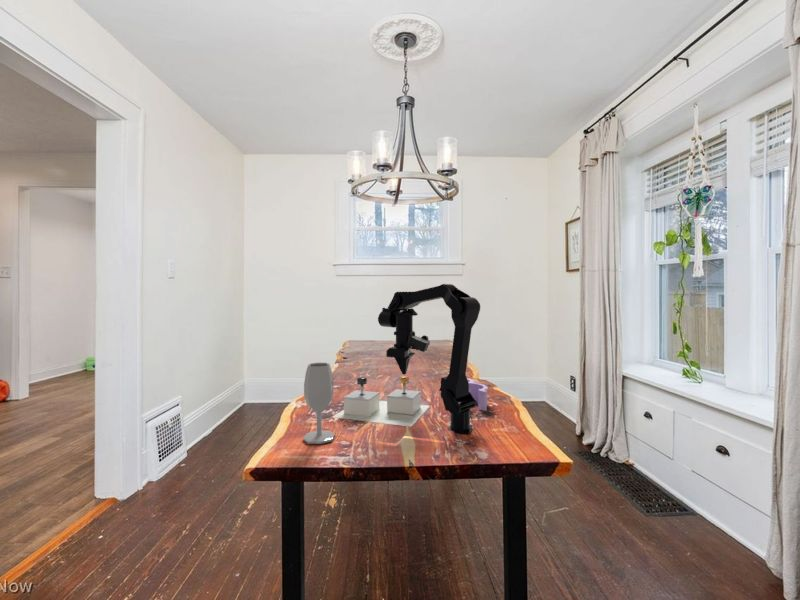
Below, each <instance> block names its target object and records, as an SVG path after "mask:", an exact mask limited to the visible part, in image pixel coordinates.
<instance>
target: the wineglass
mask: <svg viewBox="0 0 800 600" xmlns="http://www.w3.org/2000/svg"><path fill="white" fill-rule="evenodd" d="M303 383H304V384H303V396H304V399H305V403H306V406H308V407H309V408H310V409H311V410H313V412H314V413H316V430H315V431H314V430H313V431H310V432H306V434H305V435H304V436H303V441H304V442H305V443H306V444H307V445H322V444H323V445H324V444H326V443H330V442H333V440H334V439H335V436H336V434H335V433H334V432H332V431H331V430H323V429H322V428H323V425H322V423H323V422H322V418H323V417H322V415H323V414H322V413H323V412H324V411H325V410H326V409H327V408H328V407H330V405H331V404H332V401H333V396H334V392H335V391H334V388H335V386H334V377H333V371H332V368H331V364H330V363H328V362H311V363H309V364H307V368H306V371H305V376H304V382H303Z"/></svg>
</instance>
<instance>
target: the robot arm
mask: <svg viewBox="0 0 800 600" xmlns="http://www.w3.org/2000/svg"><path fill="white" fill-rule="evenodd" d="M440 299H443V301H444V303H445V305H446V307H448V308H449V309H450V310H451V311H450V312H451V313H450V314H451V319H452V322H453V325H454V329H453V330H454V332H453V338H452V339H453V340H452V346H451V356H450V362H449V370H448V371H449V372H448V375H446V376H443V377H440V387H439V389H438V391H439V392H440V398H441V399H442V402H443V405H444V410H445V411H447V412H449V413H450V425H449V426H448V428H447V431H450V432H454V433H457V434H458V433H459V434H463V435H464V434H465V435H469V434H471V432H472V430H473V425H472V424H471V422H470V421H471V415H470V414H471V409H473V408H474V409H475V408H476V405H477V402H476V400H475V399H474V398H473V396H472V395H471V393H470V392H469V383H468V380H467V379H468V378H467V373H466V372H467V366H468V358H469V350H470V343H471V335H472V329H473V327H474V325H475V324H476V322H477V320H478V318H479V315H480V312H481V304H480V302H479V301H478V299H477V298H475V297H472V296H470V295H469V294H468V293H466V292H464V291H462V290H461V289H459V288H457V287H456V286H455V285H454V284H452V283H441V284H440V285H437V286H433V287H429V288H428V287H427V288H423V289H420V290H415V291H396V292H395V293H394V294H393V297H392V299H391V301H390V303H389V305H388V306H387V307H382V309H381V312H380V313H379V314H378V317H377V322H378V324H379V326H381V327H385V328H395V331H394V332H393V335H394V336H395V343H394V344H393V346H391V347H388V348H387V350H386V355H385V356H386V357H387V358H394V360H395V362H396V364H397V365H398V368H399V370H400V372H401V374H402V375H403V376H405V375H406V374H407V371H408V368H409V364H410V360H411V358H412V357H413V356H414V355H416V352H412V350H416V351H419V352H422V353H424V352H426V351H427V350H428V348H429V346H430V344H431V341H430V340H429V336H427V335H425V334H424V335H422V336H417V335H416V331H414V330H413V329H414V328H413V324H414V323H413V320H414V319H413V318H414V317H416V316H418V315H419V313H418V312H417V311H416V310H415V309H414V308H415V307H417V306H419V305H420V304H422V303H424V302H430V301H435V300H440ZM413 316H414V317H413ZM458 402H461V403H458Z"/></svg>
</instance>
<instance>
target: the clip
mask: <svg viewBox="0 0 800 600" xmlns="http://www.w3.org/2000/svg"><path fill="white" fill-rule="evenodd" d="M467 380H468V383H469V392H470V393H471V395H472V396H473V398H474V399H475V400H476V403H477V410H479V411H482V410H483V412H486V410H488V409H487V408H488V386H487V384H483V383H479V382H476V381H475V380H473V379H472V378H467ZM458 403H461V402H458Z"/></svg>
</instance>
